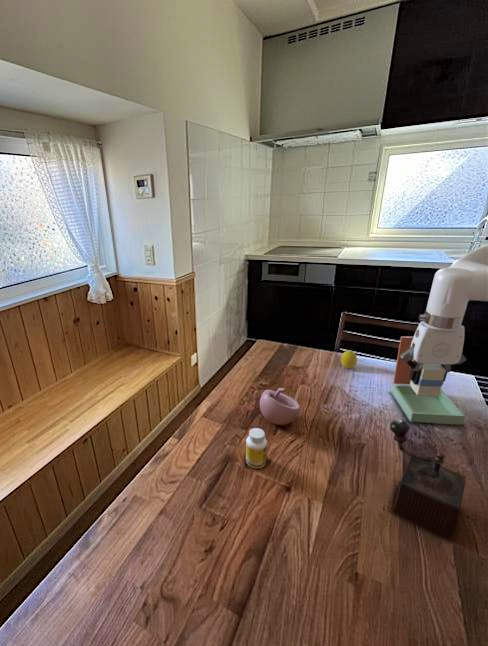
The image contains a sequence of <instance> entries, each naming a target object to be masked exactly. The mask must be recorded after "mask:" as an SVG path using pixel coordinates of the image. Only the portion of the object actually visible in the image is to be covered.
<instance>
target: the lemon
mask: <svg viewBox="0 0 488 646" xmlns="http://www.w3.org/2000/svg"><path fill="white" fill-rule="evenodd" d="M357 363H358V356H357V354H356V352H355V351H352V350H351V349H349V350H346V351H344V352H343V353H342V354H341V357H340V364H341V366H342V367H343V368H345V369H347V370H349V369H352V368H354V367H355V366H356V365H357Z"/></svg>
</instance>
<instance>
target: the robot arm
mask: <svg viewBox="0 0 488 646" xmlns="http://www.w3.org/2000/svg"><path fill="white" fill-rule="evenodd" d="M470 301H479V302H488V243H487V244H484V245H481V246H479V247H476V248H475V249H473V250H472V251H470V252H468V253H467V254H465V255H463V256H461V257H460V258H458V259H456V261H454V262H452V264H451V265H450V266H449V267H445V268H444V267H443V268H440V269H438V270H437V271H436V272H435V273H434V276H433V280H432V284H431V288H430V293H429V297H428V300H427V304H426V309H425V310H424V312H423V314H419V315H418V320H419V321H420V322H419V324H418V326H417V328H416V329H415V331H414V335H413V336H412V337H413V340H412V343H411V346H410V348H409V349H408V350H407V351H405V352H404V353H403V354H401V355H400V357H401V359H402V360H403V361H405V362H406V363H407V364H408V365H409V366H410V367H411V372H410V376H409V378H410V380H411V381H412V382H413V383H414V385H417V384H418V381H419V378H420V374H421V372H420V371H419V369H420V368H421V366H422V365H423V364H440V365H441V366H442V367H443V368H444V369H445V370H446V372H445V375H444V378H443V383H442V386H443V385H444V382H446V379H447V375H448V373H450V372H451V370H453V369H454V368H456V367H457V366H458V365H461V364H462V363H464V362H467V358H466V357H465V356H464V354H463V349H464V343H465V335H466V333H465V325H462V323H463V320H464V317H465V313H466V310H467V307H468V303H469V302H470ZM410 356H413V357H414V359H413V360H411V359H409V357H410Z"/></svg>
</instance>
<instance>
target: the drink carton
mask: <svg viewBox="0 0 488 646" xmlns="http://www.w3.org/2000/svg"><path fill="white" fill-rule="evenodd" d="M419 371H420V372H421V374H420V378H419V381H418V384H417V385H414V383H413V382H412V381H411V382H410V384H409V385H410V386H411V388H412V389H413V390H414V392H415V393H416V394H417V395H420V396H439V392H440V389H442V387H443V385H442V383H443V384H444V382H443V378H444V375H445V372H446V370H445V369H444V368H443V367H442V366H441V365H440V364H423V365H422V366H421V368H420V369H419Z"/></svg>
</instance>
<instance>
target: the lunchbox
mask: <svg viewBox="0 0 488 646" xmlns="http://www.w3.org/2000/svg"><path fill="white" fill-rule="evenodd" d="M391 394H392V396H393V397H394V398H395V400H396V402H397V403H398V404H399V406H400V408H401V409H402V411H403V413H404V414H405V416H406V417H407V419H408V421H410V422H409V423H427V424H443V425H445V424H446V425H458V426H459V425H461V426H462V425H463V424H464V421H465V417H466V416H465V414H464V413H463V411H461V410H460V409H459V408H458V406H457V405H456V404H455V403H454V402H453V401H452V400H451V398H450V397H449V396H448V394H446V392H445V391H444V390H443V389H442V388H441V389H440V392H439V396H420V395H417V394H416V393H415V392H414V390H413V389H412V388H411V386H410V384H392V389H391Z"/></svg>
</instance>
